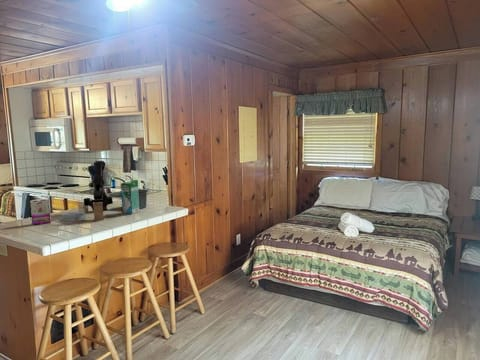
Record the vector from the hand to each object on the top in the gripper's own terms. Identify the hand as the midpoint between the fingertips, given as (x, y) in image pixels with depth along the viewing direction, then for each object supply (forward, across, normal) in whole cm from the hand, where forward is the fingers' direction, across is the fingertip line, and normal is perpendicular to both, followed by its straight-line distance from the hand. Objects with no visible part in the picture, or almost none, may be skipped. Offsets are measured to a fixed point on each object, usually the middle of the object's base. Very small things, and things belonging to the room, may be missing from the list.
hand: (98, 210), depth 246 cm
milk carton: (-8, +22, +18) cm, 29 cm away
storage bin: (-22, +25, +32) cm, 47 cm away
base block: (-3, -18, +13) cm, 22 cm away
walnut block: (+4, 0, +6) cm, 7 cm away
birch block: (-18, -14, +28) cm, 36 cm away
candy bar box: (+1, -37, +8) cm, 38 cm away
